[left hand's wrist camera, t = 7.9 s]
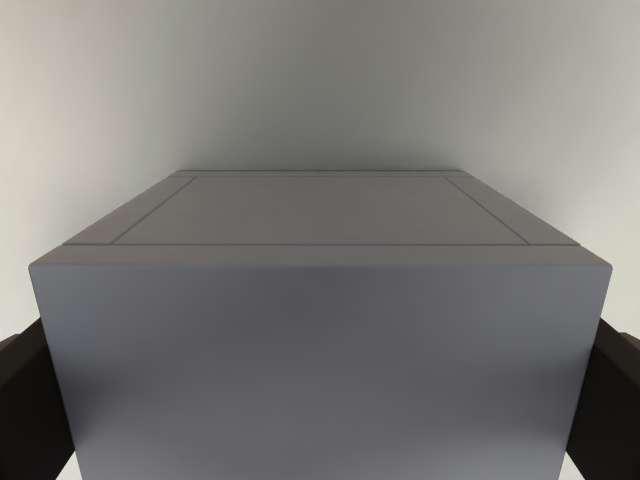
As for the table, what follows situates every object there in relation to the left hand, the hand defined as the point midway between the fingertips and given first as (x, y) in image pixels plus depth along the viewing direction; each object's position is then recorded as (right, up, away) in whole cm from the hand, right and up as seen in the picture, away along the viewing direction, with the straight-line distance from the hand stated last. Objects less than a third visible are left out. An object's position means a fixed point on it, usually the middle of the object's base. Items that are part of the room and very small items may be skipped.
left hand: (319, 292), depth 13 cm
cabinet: (0, -6, +6) cm, 9 cm away
